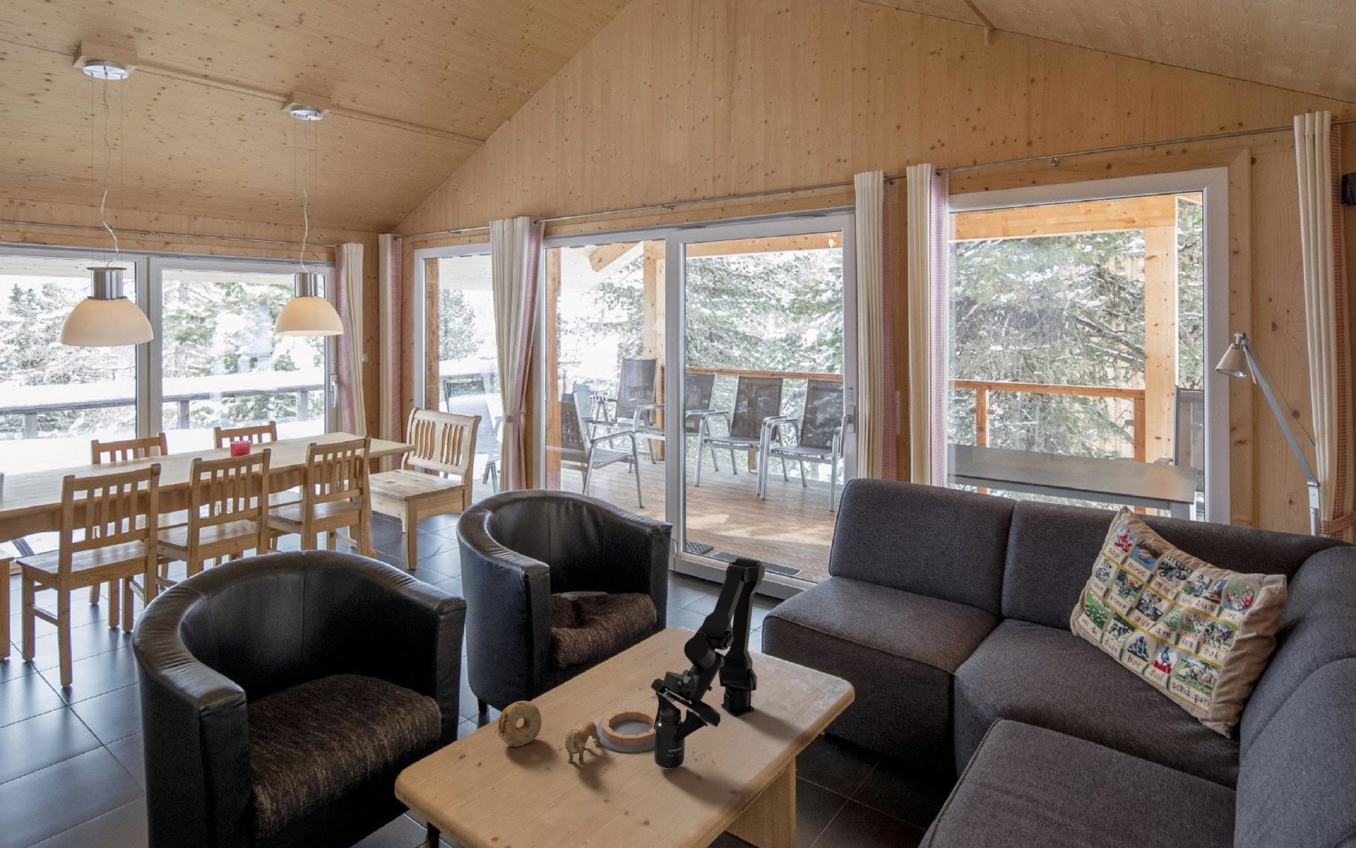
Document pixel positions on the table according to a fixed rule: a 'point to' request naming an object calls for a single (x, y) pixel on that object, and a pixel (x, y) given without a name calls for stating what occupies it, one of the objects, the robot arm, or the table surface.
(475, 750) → the table surface
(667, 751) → the supplement bottle
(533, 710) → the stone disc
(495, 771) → the table surface
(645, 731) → the ring tray
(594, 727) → the lion figurine
